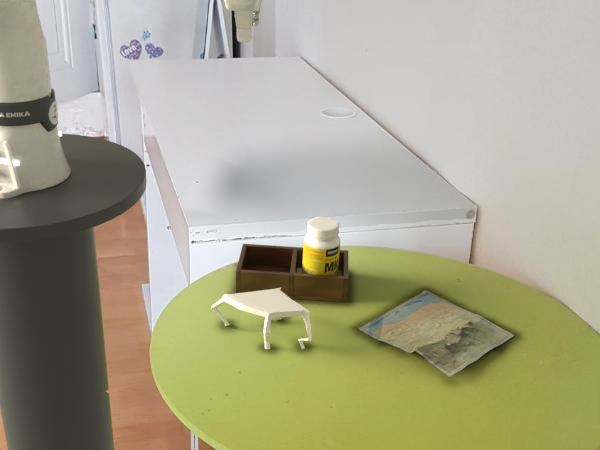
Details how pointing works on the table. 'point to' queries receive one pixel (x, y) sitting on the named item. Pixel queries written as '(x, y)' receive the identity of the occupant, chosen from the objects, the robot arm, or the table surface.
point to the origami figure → (266, 309)
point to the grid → (288, 274)
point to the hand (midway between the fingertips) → (248, 32)
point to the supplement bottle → (321, 247)
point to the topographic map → (437, 332)
